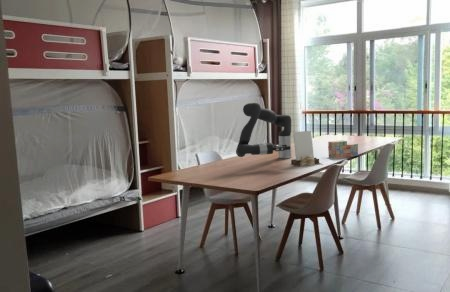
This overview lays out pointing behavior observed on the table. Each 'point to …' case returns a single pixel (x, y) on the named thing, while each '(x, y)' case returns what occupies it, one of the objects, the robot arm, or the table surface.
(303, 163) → the offcut stack
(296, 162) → the walnut rack
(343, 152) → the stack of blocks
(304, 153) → the tall board
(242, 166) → the table surface
